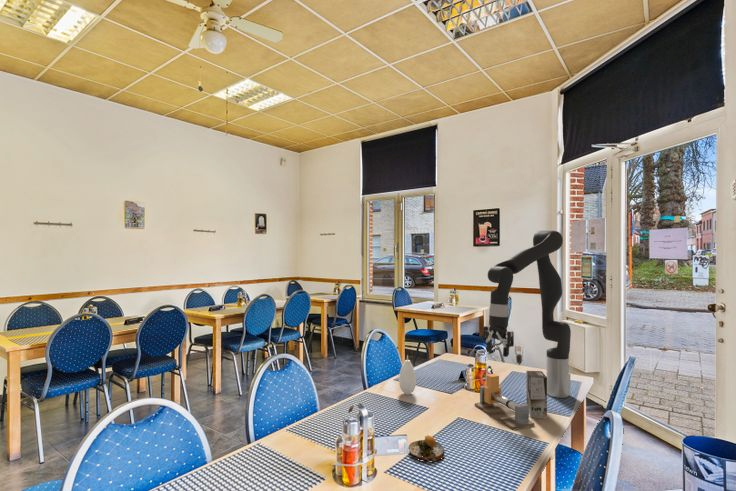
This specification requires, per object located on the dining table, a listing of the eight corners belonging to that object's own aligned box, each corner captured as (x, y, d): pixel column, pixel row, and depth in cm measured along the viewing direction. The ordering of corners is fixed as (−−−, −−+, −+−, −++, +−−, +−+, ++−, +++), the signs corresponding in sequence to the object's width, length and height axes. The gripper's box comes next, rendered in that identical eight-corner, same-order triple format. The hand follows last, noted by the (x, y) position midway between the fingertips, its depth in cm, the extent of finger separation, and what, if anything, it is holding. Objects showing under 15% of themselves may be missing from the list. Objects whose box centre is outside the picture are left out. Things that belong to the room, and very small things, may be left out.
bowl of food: (420, 441, 143) (420, 420, 143) (451, 452, 135) (451, 430, 135) (401, 455, 133) (401, 432, 133) (432, 467, 126) (432, 443, 126)
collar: (484, 401, 170) (484, 375, 170) (496, 399, 173) (496, 373, 173) (488, 404, 168) (488, 377, 168) (500, 402, 170) (501, 375, 170)
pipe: (479, 402, 174) (479, 386, 174) (489, 401, 176) (489, 384, 176) (517, 425, 152) (517, 407, 152) (528, 423, 154) (528, 405, 154)
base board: (474, 405, 174) (474, 403, 174) (494, 402, 177) (494, 400, 177) (512, 429, 151) (512, 426, 151) (534, 425, 154) (534, 422, 154)
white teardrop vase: (416, 397, 183) (416, 357, 183) (399, 397, 183) (399, 357, 183) (415, 391, 191) (415, 352, 191) (398, 390, 191) (398, 352, 191)
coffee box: (547, 418, 160) (547, 377, 160) (530, 417, 162) (530, 376, 162) (542, 409, 169) (542, 370, 169) (526, 408, 171) (526, 369, 171)
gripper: (519, 317, 165) (517, 357, 164) (491, 312, 177) (490, 349, 177) (506, 317, 161) (504, 359, 161) (479, 312, 173) (477, 351, 173)
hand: (497, 354), depth 169 cm, fingers open, 8 cm apart
